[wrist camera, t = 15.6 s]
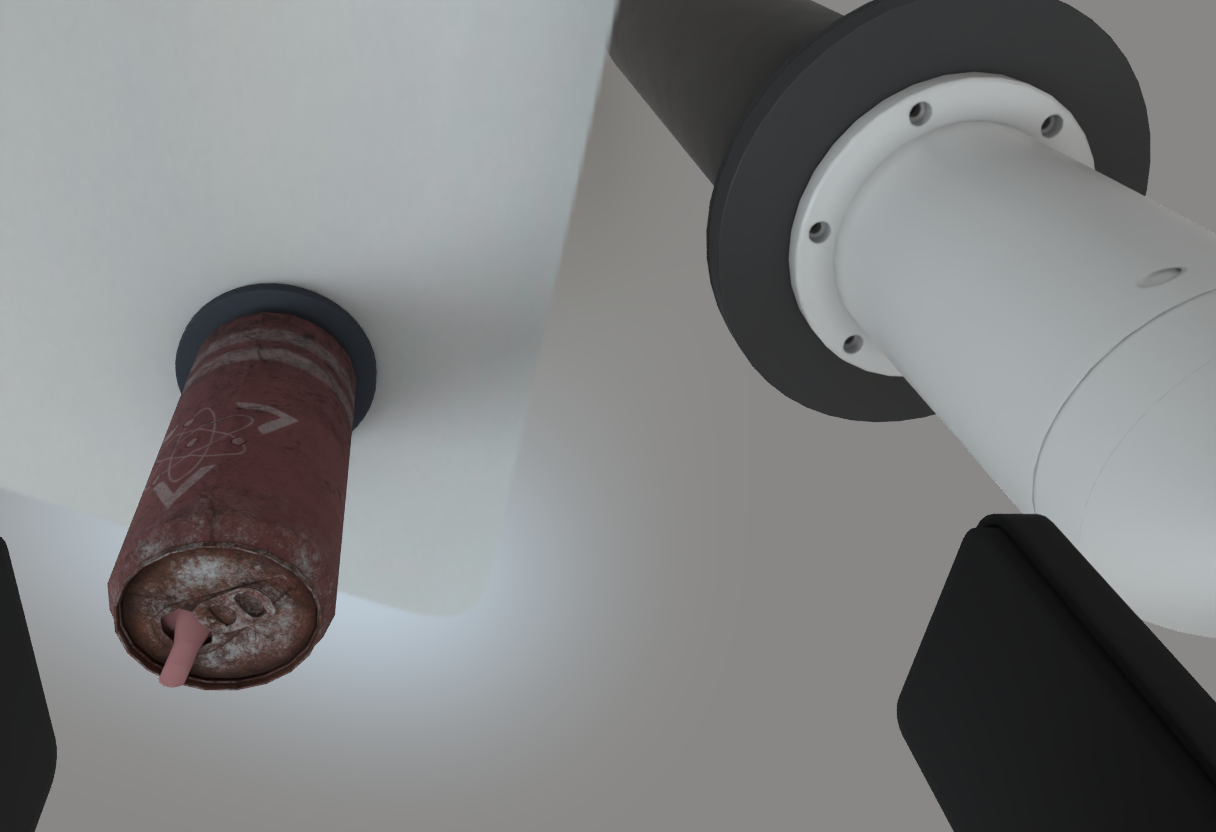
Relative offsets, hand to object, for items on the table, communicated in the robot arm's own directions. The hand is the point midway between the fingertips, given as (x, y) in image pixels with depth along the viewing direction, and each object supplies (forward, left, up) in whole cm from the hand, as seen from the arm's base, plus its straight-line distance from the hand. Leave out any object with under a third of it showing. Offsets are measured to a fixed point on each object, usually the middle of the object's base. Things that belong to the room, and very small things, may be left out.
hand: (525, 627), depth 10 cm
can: (+6, +13, -28) cm, 31 cm away
